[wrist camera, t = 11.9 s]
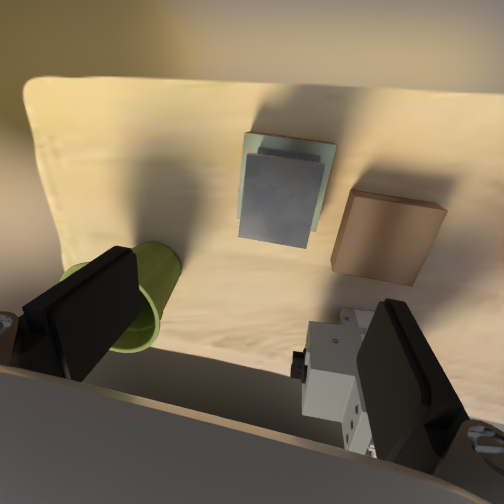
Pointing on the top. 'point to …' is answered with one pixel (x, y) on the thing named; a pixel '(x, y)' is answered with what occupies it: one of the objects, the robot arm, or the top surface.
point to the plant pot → (147, 294)
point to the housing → (280, 196)
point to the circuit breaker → (336, 376)
